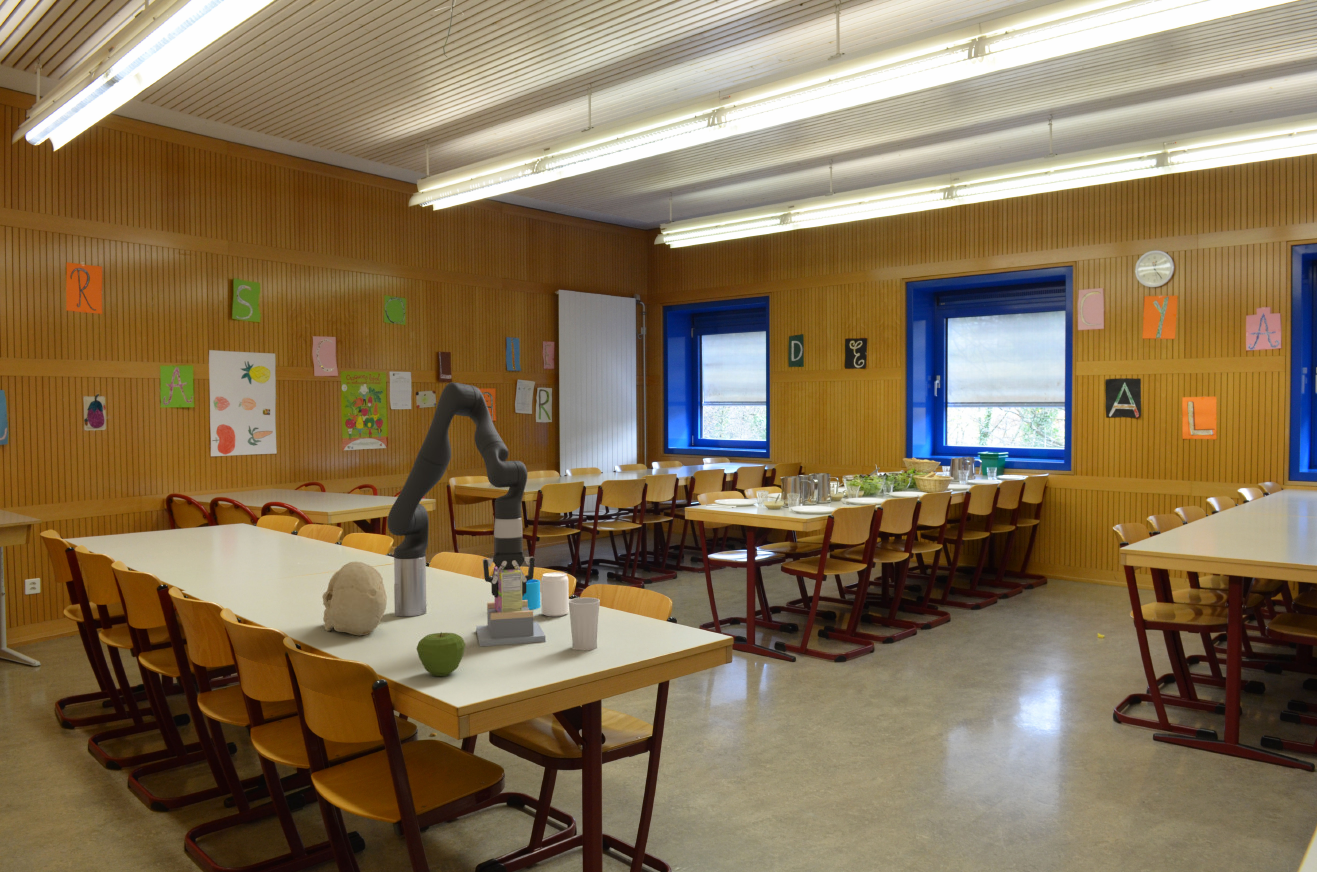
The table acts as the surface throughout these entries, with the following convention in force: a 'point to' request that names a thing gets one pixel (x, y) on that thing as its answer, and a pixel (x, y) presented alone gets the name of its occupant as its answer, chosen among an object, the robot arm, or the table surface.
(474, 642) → the table surface
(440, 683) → the table surface
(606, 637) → the table surface
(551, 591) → the beverage can
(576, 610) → the cup
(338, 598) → the skull
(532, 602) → the mug
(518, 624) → the display stand
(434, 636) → the apple
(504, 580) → the box
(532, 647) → the table surface
